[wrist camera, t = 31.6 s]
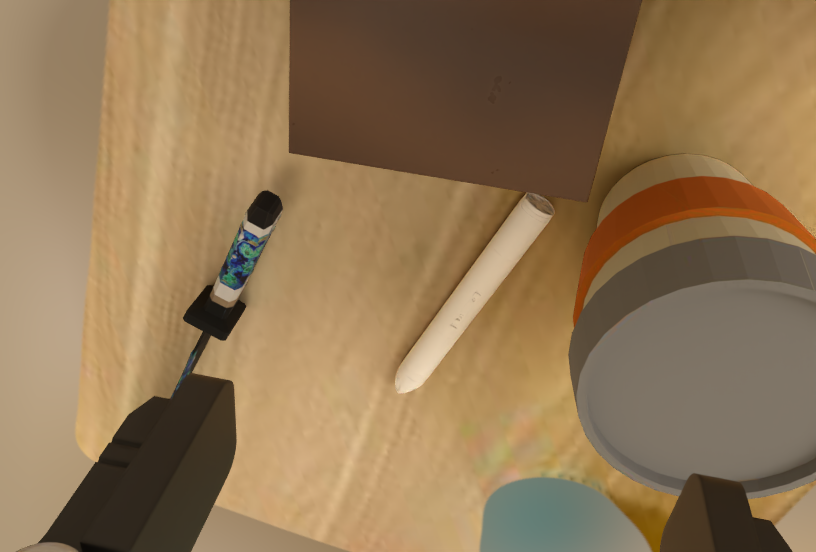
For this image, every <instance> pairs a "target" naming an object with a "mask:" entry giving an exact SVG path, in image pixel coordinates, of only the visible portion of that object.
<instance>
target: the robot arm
mask: <svg viewBox="0 0 816 552" xmlns="http://www.w3.org/2000/svg"><path fill="white" fill-rule="evenodd" d="M235 450H236V418H235V397H234V385H233V382H232V381H230V380H224V379H219V378H214V377H209V376H204V375H199V374H194V373H190V374H188V375H187V376H186V377H185V378H184V380H183V381H182V383H181V384H180V386H179V388H178V389H177V391H176V392H175V394H174V395H173V397H172V398H171V399H166V398H161V397H156V396H154V397H152V398H151V399H150V400H148V401H147V402H145V403H144V404H143V405H141V406H140V407H139V408H137V409H136V410H134V411H133V412H132V413H130V414H129V415H128V416H127V418H126V419H125V421H124V422H123V424H122V425H121V426H120V428H119V429H118V431H117V432H116V434H115V435H114V437H113V439H112V442H111V443H109V444H108V445H107V447H106V448H105V449H104V451H103V452H102V454H101V455H100V457H99V461H98V462H95V464H94V466H93V467H92V468H91V470H90V471H89V473H88V474H87V476H86V477H85V478H84V480H83V481H82V483H81V484H80V486H79V487H78V488H77V490H76V491H75V493H74V494H73V496H72V497H71V499H70V500H69V501H68V503H67V504H66V506H65V507H64V509H63V510H62V512H61V513H60V514H59V516H58V518H57V519H56V520H55V522H54V523H53V525H52V526H51V527H50V529H49V530H48V532H47V533H46V534H45V536H44V537H43V538H42V539H41V540H40V541H39V542H38V543H37V544H34V545H30V546H27V547H25V548H22V549H20V550H18V551H16V552H191V551H192V548H193V546H194V544H195V542H196V540H197V538H198V536H199V534H200V532H201V530H202V528H203V525H204V523H205V522H206V520H207V518H208V515H209V513H210V511H211V509H212V507H213V505H214V503H215V501H216V499H217V497H218V495H219V493H220V491H221V489H222V487H223V485H224V482H225V480H226V478H227V476H228V474H229V472H230V469H231V466H232V463H233V459H234V455H235ZM660 552H792V550H791V549H790V547H789V546H788V544H787V543H786V542H785V540H784V539H783V537H782V536H781V535H780V533H779V532H778V531H777V529H776V528H775V526H774V525H773V524H772V522H771V521H769V520H764V519H759V518H754V517H752V514H751V510H750V506H749V503H748V499H747V495H746V492H745V489H744V487H743V485H742V484H741V483H740V482H737V481H732V480H727V479H722V478H717V477H712V476H707V475H702V474H697V473H693V474H691V475H690V476H689V478H688V479H687V481H686V483H685V485H684V488H683V490H682V492H681V494H680V496H679V498H678V500H677V502H676V505H675V507H674V509H673V511H672V513H671V515H670V517H669V519H668V521H667V524H666V526H665V528H664V531H663V534H662V539H661V545H660Z"/></svg>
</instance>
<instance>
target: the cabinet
mask: <svg viewBox="0 0 816 552" xmlns="http://www.w3.org/2000/svg"><path fill="white" fill-rule="evenodd" d="M641 2H642V0H290V73H289V153H293V154H299V155H305V156H311V157H317V158H323V159H329V160H335V161H341V162H347V163H353V164H359V165H365V166H371V167H377V168H383V169H389V170H395V171H401V172H407V173H413V174H419V175H425V176H431V177H437V178H443V179H449V180H455V181H461V182H467V183H473V184H479V185H485V186H491V187H497V188H503V189H509V190H515V191H521V192H527V193H533V194H539V195H545V196H551V197H557V198H563V199H569V200H575V201H581V202H588V199H589V195H590V191H591V188H592V184H593V180H594V177H595V173H596V169H597V166H598V162H599V158H600V154H601V151H602V147H603V143H604V140H605V136H606V132H607V128H608V125H609V121H610V117H611V114H612V110H613V106H614V102H615V99H616V95H617V91H618V88H619V84H620V80H621V77H622V73H623V69H624V65H625V62H626V58H627V54H628V51H629V47H630V43H631V39H632V36H633V32H634V28H635V25H636V21H637V17H638V13H639V10H640V6H641Z"/></svg>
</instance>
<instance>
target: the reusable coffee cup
mask: <svg viewBox="0 0 816 552" xmlns="http://www.w3.org/2000/svg"><path fill="white" fill-rule="evenodd" d="M573 322H574V330H573V332H572V336H571V343H570V349H569V364H570V375H571V380H572V385H573V391H574V396H575V401H576V406H577V411H578V416H579V419H580V422H581V424H582V427H583V430H584V432H585V435H586V436H587V438H588V439H589V441H590V442H591V444H592V445H593V447H594V448H595V450H596V451H597V452H598V453H599V454H600V455H601V456H602V457H603V458H604V459H605V460H606V461H607V462H608V463H609V464H610V465H611V466H612V467H613V468H615V469H616V470H618V471H619V472H621V473H623V474H624V475H626V476H627V477H629V478H630V479H632V480H634V481H636V482H638V483H641V484H643V485H645V486H647V487H650V488H652V489H654V490H657V491H661V492H665V493H668V494H672V495H676V496H680V494H681V492H682V490H683V488H684V485H685V483H686V481H687V479H688V478H689V476H690V475H691V474H693V473H697V474H702V475H707V476H712V477H717V478H722V479H727V480H732V481H737V482H740V483H741V484H742V485H743V487H744V489H745V492H746V495H747V499H753V498H761V497H766V496H770V495H774V494H778V493H782V492H786V491H790V490H793V489H795V488H798V487H800V486H803V485H805V484H808V483H811V482H813V481H816V239H815V238H814V237H813V236H812V235H811V234H810V233H809V232H808V231H807V229H806V228H805V227H804V226H803V225H802V224H801V223H800V222H799V221H798V220H797V219H796V218H795V217H794V216H793V215H792V214H791V213H790V212H789V211H788V210H787V209H786V208H785V207H784V206H783V205H782V204H781V203H780V202H778V201H777V200H776V199H775V198H773V197H772V196H771V195H769V194H768V193H767V192H765V191H763V190H760V189H758V188H756V187H754V186H752V184H751V183H750V182H749V181H748V180H747V179H746V178H745V177H744V176H743V175H742V174H741V173H740V172H738V171H737V170H736V169H735V168H733V167H732V166H731V165H728V164H726V163H724V162H722V161H720V160H718V159H715V158H711V157H708V156H704V155H696V154H677V155H668V156H664V157H661V158H657V159H653V160H650V161H648V162H646V163H644V164H642V165H640V166H638V167H636V168H634V169H633V170H632V171H630V172H629V173H627V174H626V175H624V176H623V177H622V178H621V179H620V180H619V181H618V182H617V183H616V184H615V185H614V186H613V187H612V189H611V190H610V192H609V193H608V195H607V196H606V198H605V199H604V201H603V204H602V206H601V209H600V211H599V216H598V222H597V228H596V230H595V232H594V233H593V235H592V236H591V238H590V241H589V243H588V246H587V248H586V251H585V253H584V258H583V263H582V268H581V274H580V279H579V285H578V290H577V296H576V302H575V308H574V314H573Z"/></svg>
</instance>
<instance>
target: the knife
mask: <svg viewBox="0 0 816 552" xmlns="http://www.w3.org/2000/svg"><path fill="white" fill-rule="evenodd" d="M282 211H283V206H282V202H281V200H280V198H279V196H277V195H275V194H273V193H271V192H270V191H268V190H267V191H262V192H261V193H260V194H258V196H257V197H256V199H255V200H254V201H253V203H252V204H251V206H250V207H249V209H248V210H247V212H246V213H245V217H244V219H243V221H242V223H241V225H240V228H239V230H238V233H237V235H236V237H235V239H234V242H233V244H232V246H231V248H230V251H229V253H228V255H227V257H226V260H225V262H224V264H223V266H222V268H221V271H220V273H219V276H218V278H217V280H216V283H215V285H214V287H213V286H211V285H207V286H206V287H205V289H204V290H203V291H202V292H201V293H200V295H199V296H198V297H197V298H196V300H195V301H194V302H193V303H192V305H191V306H190V307H189V308H188V310H187V311H186V313H185V315H184V317H183V319H184V321H185V322H187V323H189V324H191V325H192V326H194V327H196V328H198V329H200V330H202V331H203V332H202V334H201V336H200V338H199V340H198V342H197V344H196V346H195V348H194V350H193V351H192V352H191V354H190V357H189V359H188V362H187V364H186V367H185V369H184V372H183V374H182V376H181V378H180V380H179V382H178V384H177V386H176V388H175V390H174V392H173V395H174V394H175V392H176V391H177V389H178V388H179V386H180V384H181V383H182V381H183V380H184V378H185V377H186V376H187V375H188V374H190V373H192V371H193V369H194V367H195V365H196V363H197V362H198V360H199V358H200V356H201V354H202V352H203V350H204V348H205V346H206V344H207V342H208V340H209V338H210V336H211V335H212V336H213V337H215V338H217V339H219V340H221V341H223V340H226V339H227V337H228V336H229V334H230V333H231V331H232V329H233V328H234V326H235V325H236V323H237V321H238V320H239V318H240V317H241V315H242V313H243V312H244V310H245V308H246V305H245V303H243V302H241V301H239V300H238V299H239V297H240V295H241V293H242V291H243V289H244V287H245V286H246V284H247V281H248V279H249V277H250V275H251V274H252V272H253V270H254V267H255V265H256V263H257V261H258V259H259V257H260V255H261V253H262V251H263V249H264V247H265V245H266V243H267V241H268V239H269V237H270V235H271V233H272V231H273V230H274V229H275V227H276V226H275V225H276V223H277V221H278V220H279V219H280V217H281V213H282ZM173 395H172V397H173ZM172 397H171V398H172Z"/></svg>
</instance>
